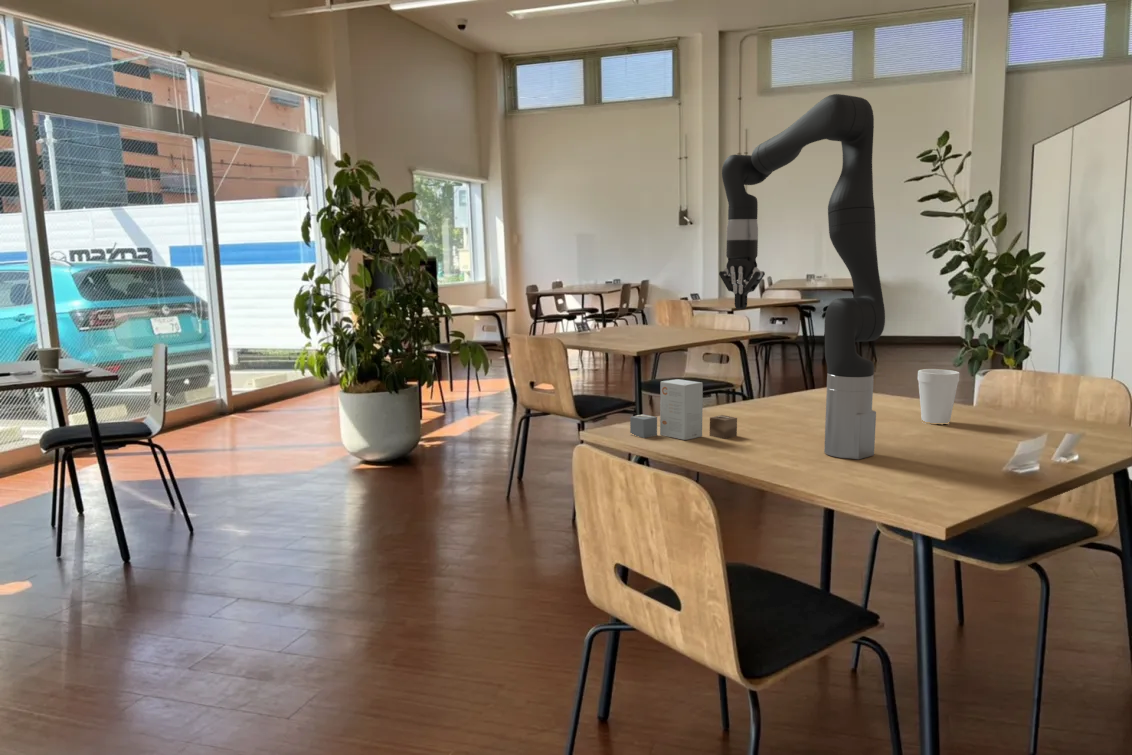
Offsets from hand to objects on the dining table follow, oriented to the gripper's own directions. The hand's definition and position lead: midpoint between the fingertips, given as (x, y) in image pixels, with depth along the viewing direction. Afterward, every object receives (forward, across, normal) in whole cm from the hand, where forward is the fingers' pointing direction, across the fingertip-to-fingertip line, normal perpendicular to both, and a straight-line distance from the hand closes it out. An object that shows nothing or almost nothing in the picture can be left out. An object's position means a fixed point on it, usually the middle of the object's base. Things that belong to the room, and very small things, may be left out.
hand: (740, 309), depth 201 cm
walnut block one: (+29, -7, +14) cm, 33 cm away
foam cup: (+29, -32, -38) cm, 58 cm away
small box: (+29, 0, +22) cm, 36 cm away
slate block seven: (+29, +6, +28) cm, 40 cm away
